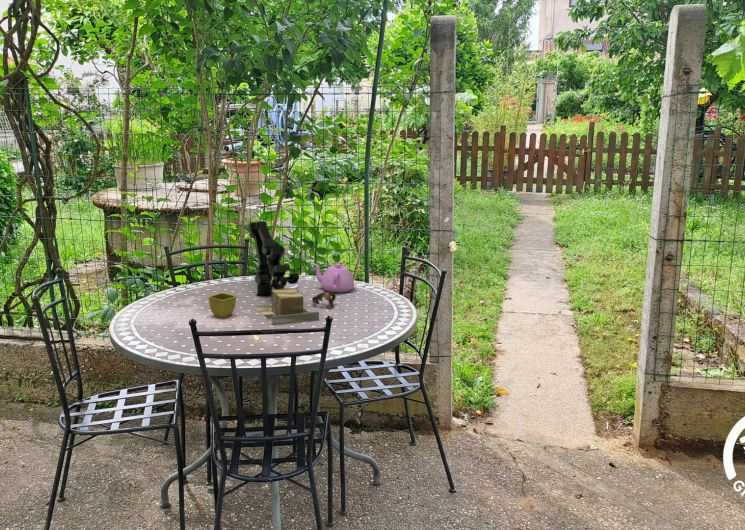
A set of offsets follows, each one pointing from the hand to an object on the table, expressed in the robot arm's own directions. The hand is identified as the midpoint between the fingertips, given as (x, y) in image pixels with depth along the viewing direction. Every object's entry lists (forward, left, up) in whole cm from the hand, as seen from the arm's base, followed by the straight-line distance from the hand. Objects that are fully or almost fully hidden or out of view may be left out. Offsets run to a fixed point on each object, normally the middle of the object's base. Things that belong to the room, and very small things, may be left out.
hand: (282, 295), depth 297 cm
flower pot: (-20, -18, -8) cm, 28 cm away
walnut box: (+5, -5, -7) cm, 10 cm away
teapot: (+6, +45, -8) cm, 46 cm away
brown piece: (+14, +16, -8) cm, 23 cm away
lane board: (+4, -4, -7) cm, 9 cm away
